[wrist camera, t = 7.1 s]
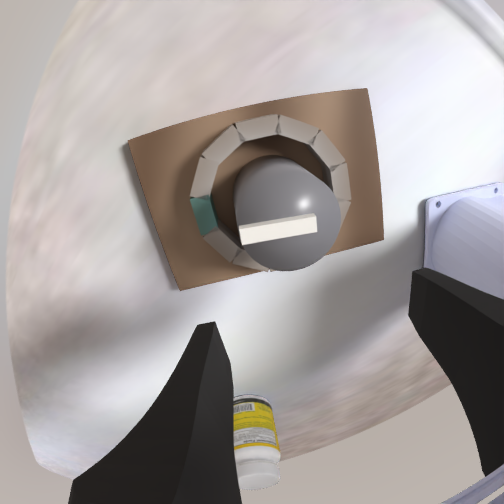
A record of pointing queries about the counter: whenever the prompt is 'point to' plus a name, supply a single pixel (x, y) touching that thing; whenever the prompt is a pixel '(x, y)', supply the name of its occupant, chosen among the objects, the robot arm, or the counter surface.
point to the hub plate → (241, 153)
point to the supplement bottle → (255, 443)
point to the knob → (284, 213)
